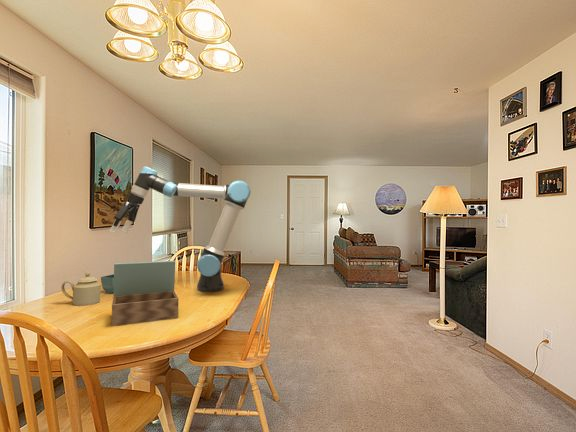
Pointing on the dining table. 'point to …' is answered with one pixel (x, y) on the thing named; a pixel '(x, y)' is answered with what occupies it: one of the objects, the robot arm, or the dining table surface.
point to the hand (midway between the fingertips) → (118, 231)
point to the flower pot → (108, 283)
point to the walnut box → (144, 307)
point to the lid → (143, 277)
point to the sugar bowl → (84, 291)
